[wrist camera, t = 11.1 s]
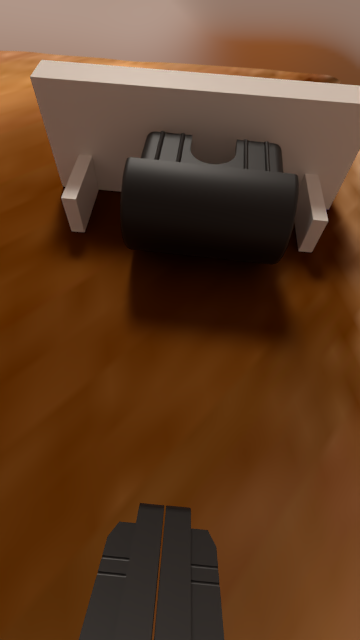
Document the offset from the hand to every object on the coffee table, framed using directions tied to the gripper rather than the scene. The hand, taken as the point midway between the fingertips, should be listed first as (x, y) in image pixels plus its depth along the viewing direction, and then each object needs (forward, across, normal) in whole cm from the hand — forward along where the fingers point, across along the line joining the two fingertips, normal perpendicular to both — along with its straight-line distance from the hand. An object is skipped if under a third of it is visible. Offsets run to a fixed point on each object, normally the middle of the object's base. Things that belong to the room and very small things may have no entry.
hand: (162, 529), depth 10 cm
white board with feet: (+20, 0, -11) cm, 23 cm away
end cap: (+18, -1, -8) cm, 20 cm away
